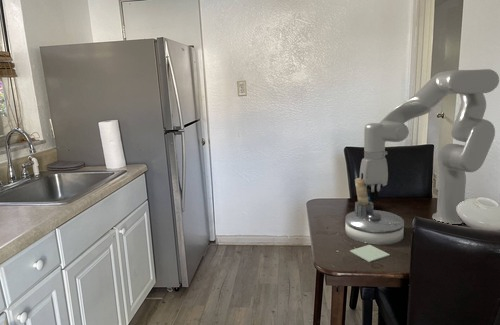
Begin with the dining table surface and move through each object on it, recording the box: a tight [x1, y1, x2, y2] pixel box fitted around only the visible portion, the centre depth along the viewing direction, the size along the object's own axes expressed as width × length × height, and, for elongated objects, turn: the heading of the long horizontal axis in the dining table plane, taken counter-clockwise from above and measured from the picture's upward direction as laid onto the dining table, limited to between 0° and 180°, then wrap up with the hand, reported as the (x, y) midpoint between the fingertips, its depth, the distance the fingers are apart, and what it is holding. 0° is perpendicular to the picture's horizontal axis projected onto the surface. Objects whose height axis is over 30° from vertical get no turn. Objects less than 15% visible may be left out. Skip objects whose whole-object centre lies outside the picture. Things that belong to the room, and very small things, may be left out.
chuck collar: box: [345, 200, 405, 233], centre depth 132 cm, size 21×21×6 cm
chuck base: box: [344, 223, 405, 246], centre depth 133 cm, size 21×21×4 cm
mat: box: [349, 244, 391, 263], centre depth 117 cm, size 9×9×1 cm
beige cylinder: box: [354, 177, 370, 205], centre depth 138 cm, size 4×4×14 cm
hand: (373, 200), depth 138 cm, fingers closed
